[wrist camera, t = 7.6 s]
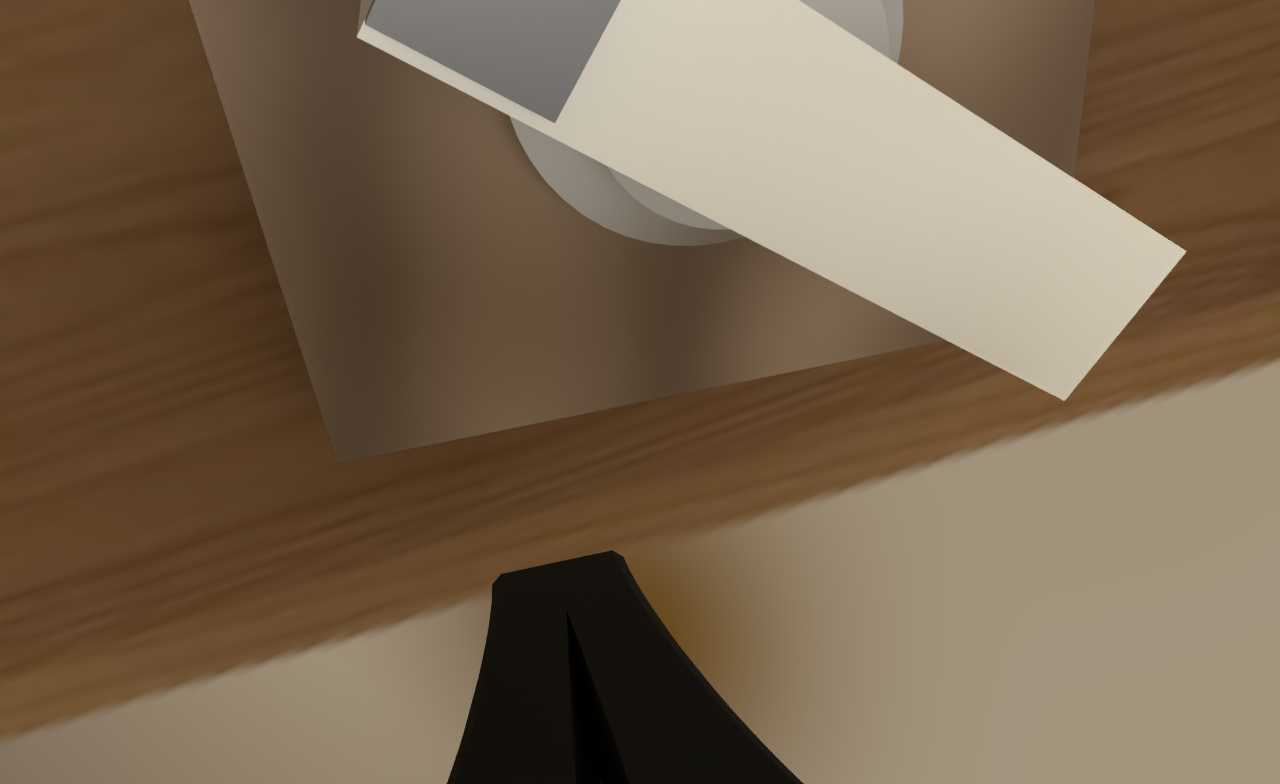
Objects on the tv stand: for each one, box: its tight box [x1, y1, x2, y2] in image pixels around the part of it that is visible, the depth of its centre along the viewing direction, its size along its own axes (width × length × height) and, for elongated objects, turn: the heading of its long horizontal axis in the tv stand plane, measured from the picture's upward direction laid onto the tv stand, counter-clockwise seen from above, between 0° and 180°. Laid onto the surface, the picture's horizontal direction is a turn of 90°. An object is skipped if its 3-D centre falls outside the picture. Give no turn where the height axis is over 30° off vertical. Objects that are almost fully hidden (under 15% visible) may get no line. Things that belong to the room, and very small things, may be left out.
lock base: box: [189, 0, 1096, 464], centre depth 17 cm, size 15×14×3 cm
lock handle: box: [357, 0, 1186, 401], centre depth 13 cm, size 10×4×5 cm, turn 60°
